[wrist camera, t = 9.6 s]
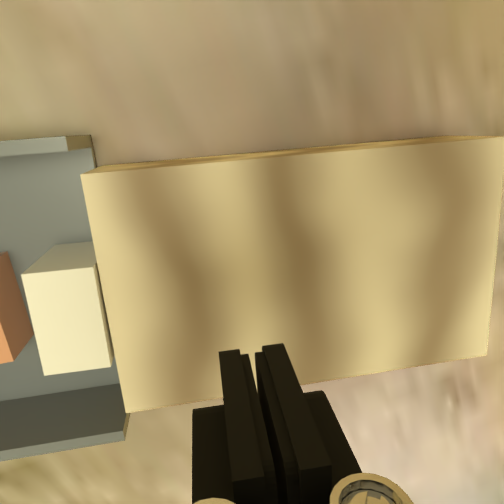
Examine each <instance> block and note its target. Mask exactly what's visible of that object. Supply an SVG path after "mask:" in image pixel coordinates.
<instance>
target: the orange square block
mask: <svg viewBox="0 0 504 504" xmlns="http://www.w3.org/2000/svg"><path fill="white" fill-rule="evenodd" d="M33 335H34V333H33V329H32V326H31V323H30V320H29V317H28V314H27V311H26V308H25V305H24V301H23V298H22V295H21V292H20V289H19V286H18V283H17V280H16V277H15V273H14V270H13V267H12V264H11V261H10V258H9V255H8V252H7V251H6V252H0V364H2V363H7V362H13V361H14V360H15V359H16V358H17V356H18V355H19V353H20V352H21V351H22V349H23V348H24V347H25V345H26V344H27V343H28V341H29V340H30V339H31V337H32V336H33Z"/></svg>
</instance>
